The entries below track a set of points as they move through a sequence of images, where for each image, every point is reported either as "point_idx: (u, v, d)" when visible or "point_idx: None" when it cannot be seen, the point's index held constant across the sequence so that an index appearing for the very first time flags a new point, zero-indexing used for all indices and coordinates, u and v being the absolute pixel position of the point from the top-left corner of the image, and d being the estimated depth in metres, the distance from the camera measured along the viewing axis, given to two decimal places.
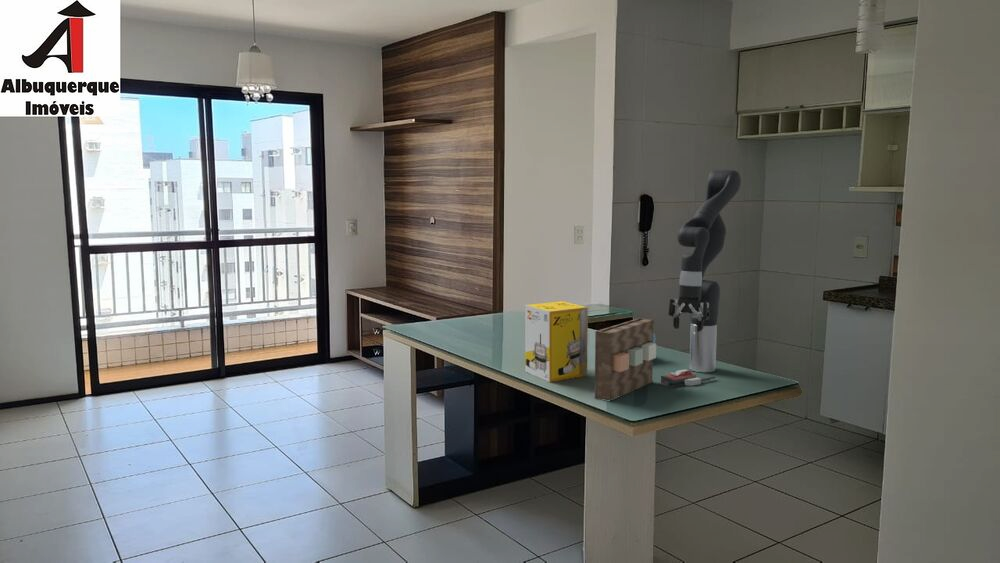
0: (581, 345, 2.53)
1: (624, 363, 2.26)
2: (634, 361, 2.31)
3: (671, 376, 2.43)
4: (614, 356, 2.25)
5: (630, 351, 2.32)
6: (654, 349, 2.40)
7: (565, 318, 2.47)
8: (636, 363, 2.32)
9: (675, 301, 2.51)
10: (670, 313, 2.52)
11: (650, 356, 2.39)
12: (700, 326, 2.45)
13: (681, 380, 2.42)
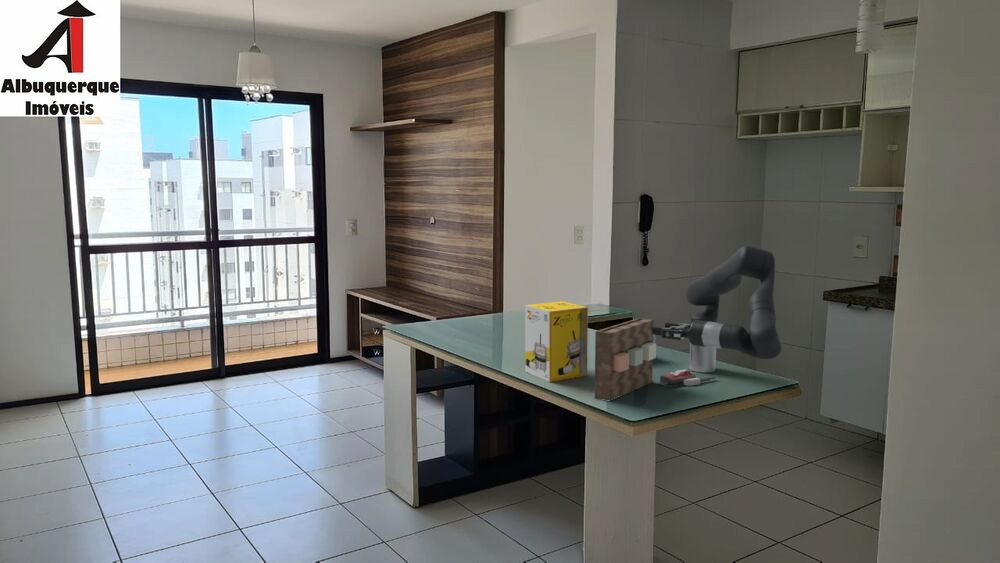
0: (581, 345, 2.53)
1: (624, 363, 2.26)
2: (634, 361, 2.31)
3: (670, 376, 2.44)
4: (614, 356, 2.25)
5: (630, 351, 2.32)
6: (654, 349, 2.40)
7: (565, 318, 2.47)
8: (636, 363, 2.32)
9: None
10: None
11: (650, 356, 2.39)
12: None
13: (680, 380, 2.42)
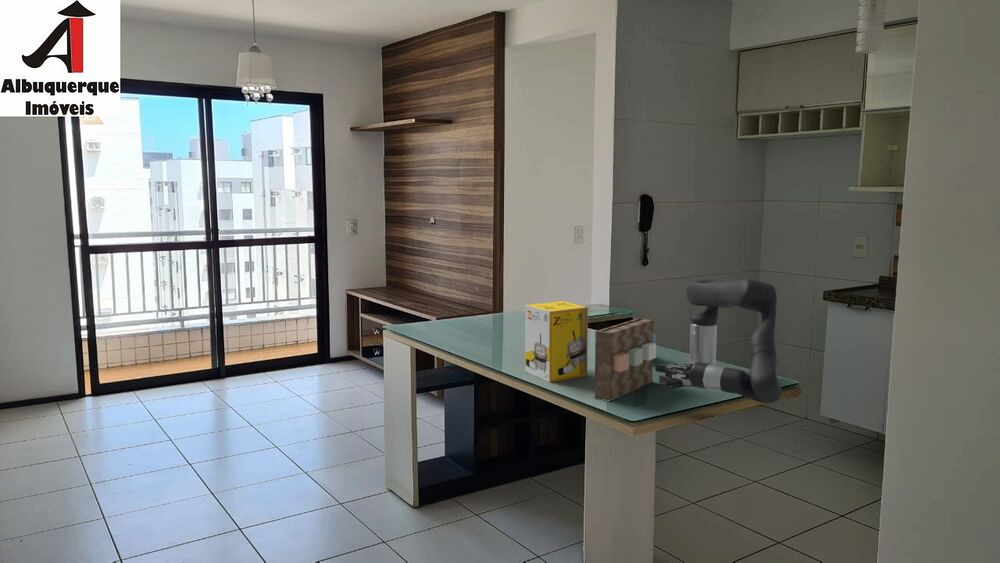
0: (581, 345, 2.53)
1: (624, 363, 2.26)
2: (634, 361, 2.31)
3: None
4: (614, 356, 2.25)
5: (630, 351, 2.32)
6: (654, 349, 2.40)
7: (565, 318, 2.47)
8: (636, 363, 2.32)
9: None
10: None
11: (650, 356, 2.39)
12: None
13: (679, 380, 2.42)
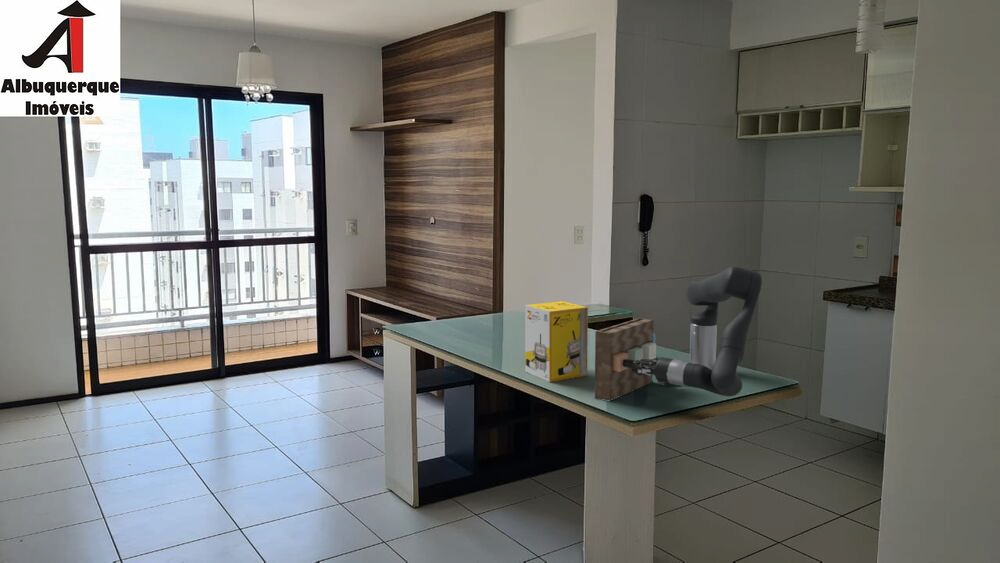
0: (581, 345, 2.53)
1: None
2: None
3: None
4: (613, 356, 2.25)
5: (630, 351, 2.32)
6: (654, 349, 2.40)
7: (565, 318, 2.47)
8: None
9: None
10: None
11: (650, 356, 2.39)
12: None
13: None
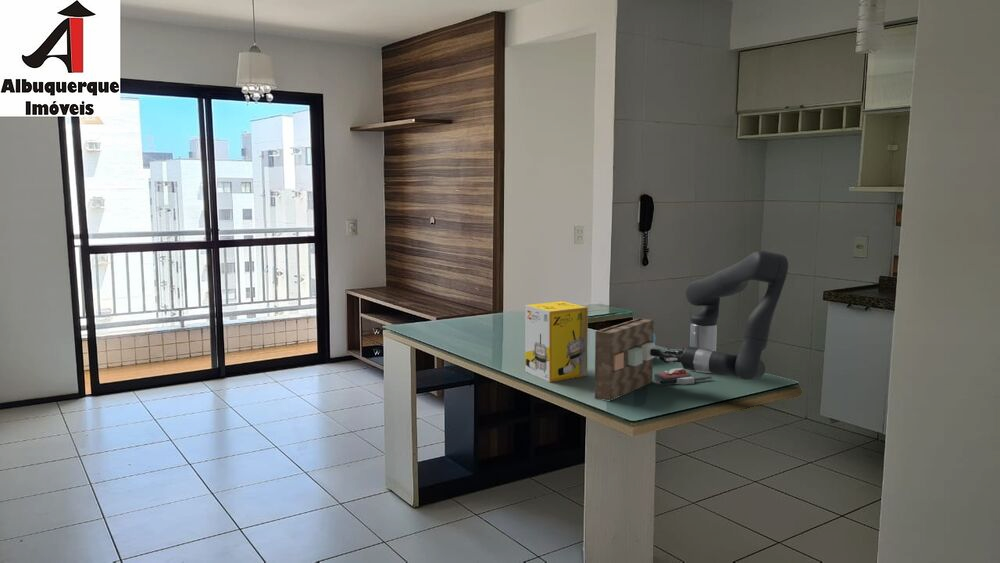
0: (581, 345, 2.53)
1: (618, 362, 2.27)
2: (634, 361, 2.31)
3: (664, 374, 2.46)
4: None
5: (630, 351, 2.32)
6: None
7: (565, 318, 2.47)
8: (636, 363, 2.32)
9: None
10: None
11: (649, 356, 2.39)
12: None
13: (673, 378, 2.44)
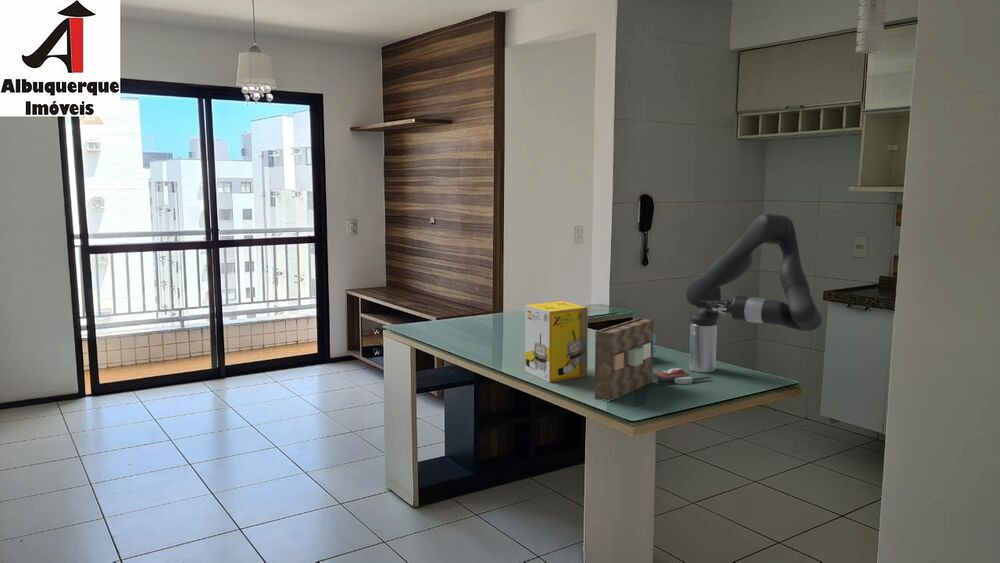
0: (581, 345, 2.53)
1: (618, 362, 2.27)
2: (634, 361, 2.31)
3: (662, 374, 2.47)
4: None
5: (630, 351, 2.32)
6: (649, 348, 2.42)
7: (565, 318, 2.47)
8: (636, 363, 2.32)
9: None
10: None
11: (645, 355, 2.40)
12: None
13: (671, 378, 2.44)
